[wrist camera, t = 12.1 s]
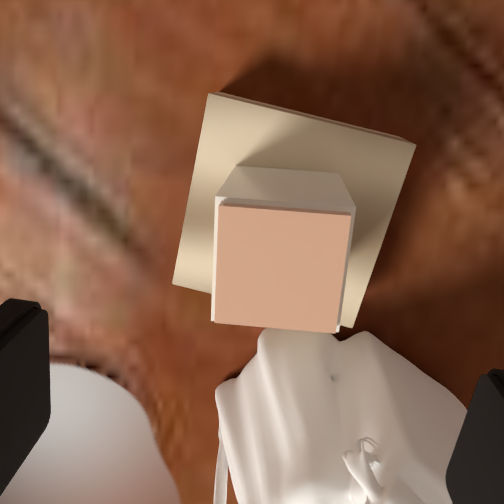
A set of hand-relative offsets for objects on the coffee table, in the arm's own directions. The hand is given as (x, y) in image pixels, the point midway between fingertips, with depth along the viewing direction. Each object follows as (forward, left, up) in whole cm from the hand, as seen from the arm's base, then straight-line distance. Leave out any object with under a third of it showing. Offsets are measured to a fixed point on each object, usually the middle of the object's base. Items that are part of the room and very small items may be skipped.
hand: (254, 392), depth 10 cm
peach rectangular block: (0, 0, -15) cm, 15 cm away
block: (0, +1, -19) cm, 19 cm away
